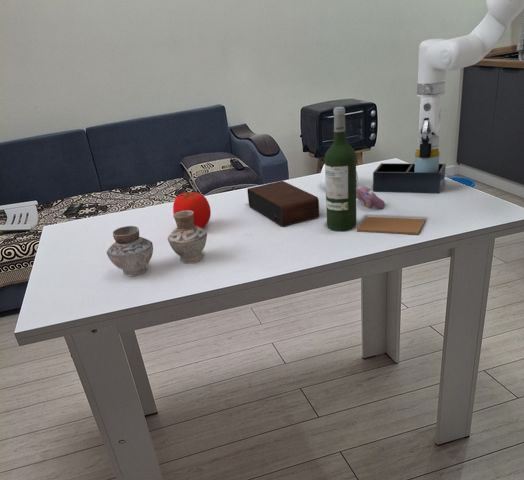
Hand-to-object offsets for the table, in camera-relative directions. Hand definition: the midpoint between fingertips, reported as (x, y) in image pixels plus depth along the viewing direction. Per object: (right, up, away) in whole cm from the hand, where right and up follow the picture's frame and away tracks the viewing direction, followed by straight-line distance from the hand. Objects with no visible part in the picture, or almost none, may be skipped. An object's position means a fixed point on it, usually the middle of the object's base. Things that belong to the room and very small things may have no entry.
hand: (427, 153), depth 161 cm
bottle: (+1, -9, +6) cm, 10 cm away
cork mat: (-15, -26, -19) cm, 35 cm away
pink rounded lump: (-18, -17, -3) cm, 25 cm away
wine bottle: (-28, -26, -15) cm, 41 cm away
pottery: (-75, -38, -25) cm, 88 cm away
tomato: (-69, -24, -5) cm, 74 cm away
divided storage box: (-4, -8, +8) cm, 12 cm away
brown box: (-44, -18, 0) cm, 47 cm away
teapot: (-24, -6, +15) cm, 29 cm away
